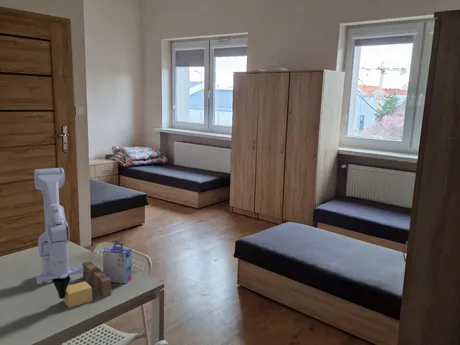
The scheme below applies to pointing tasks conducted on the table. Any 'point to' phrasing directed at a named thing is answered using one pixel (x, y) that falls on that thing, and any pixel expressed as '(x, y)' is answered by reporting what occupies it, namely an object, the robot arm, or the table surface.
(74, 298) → the ochre block
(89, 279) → the walnut block
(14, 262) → the table surface
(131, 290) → the table surface
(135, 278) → the table surface
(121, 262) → the ink cartridge box
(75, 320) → the table surface
